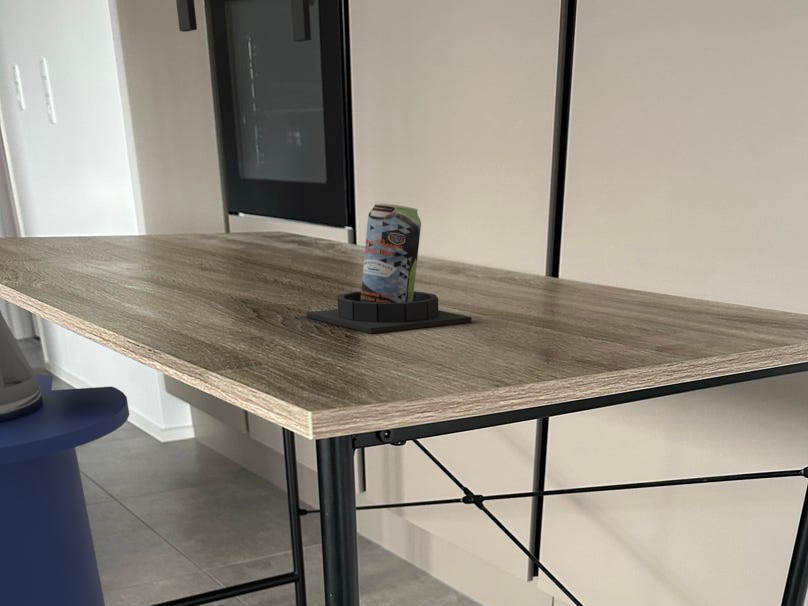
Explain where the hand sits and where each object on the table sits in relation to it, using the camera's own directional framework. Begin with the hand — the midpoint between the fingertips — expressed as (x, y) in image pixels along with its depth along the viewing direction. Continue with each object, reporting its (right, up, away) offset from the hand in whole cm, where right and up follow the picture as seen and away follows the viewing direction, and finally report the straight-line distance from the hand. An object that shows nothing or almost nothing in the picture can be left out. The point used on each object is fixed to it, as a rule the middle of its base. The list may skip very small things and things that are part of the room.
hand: (247, 36), depth 103 cm
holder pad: (+15, -28, +8) cm, 33 cm away
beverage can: (+15, -28, +8) cm, 33 cm away
